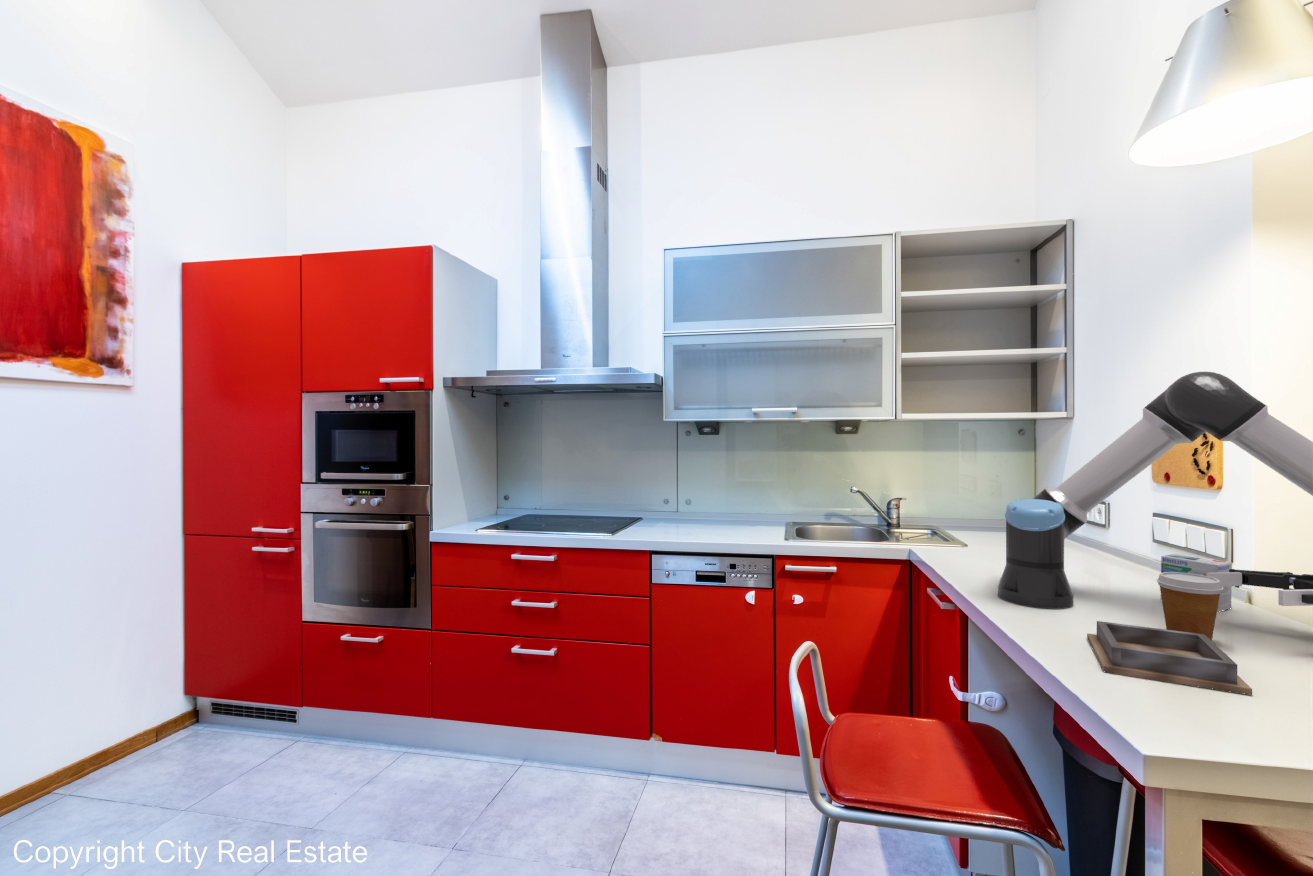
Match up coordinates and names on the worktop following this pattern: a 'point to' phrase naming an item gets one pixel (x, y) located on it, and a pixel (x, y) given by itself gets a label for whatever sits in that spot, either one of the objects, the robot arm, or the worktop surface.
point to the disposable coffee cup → (1189, 602)
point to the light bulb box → (1199, 571)
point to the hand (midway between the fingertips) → (1242, 588)
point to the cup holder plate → (1165, 656)
